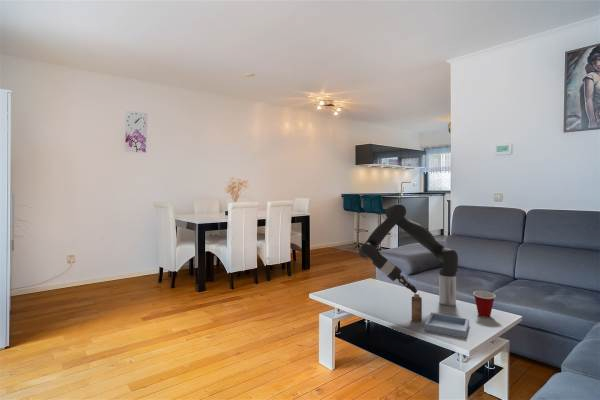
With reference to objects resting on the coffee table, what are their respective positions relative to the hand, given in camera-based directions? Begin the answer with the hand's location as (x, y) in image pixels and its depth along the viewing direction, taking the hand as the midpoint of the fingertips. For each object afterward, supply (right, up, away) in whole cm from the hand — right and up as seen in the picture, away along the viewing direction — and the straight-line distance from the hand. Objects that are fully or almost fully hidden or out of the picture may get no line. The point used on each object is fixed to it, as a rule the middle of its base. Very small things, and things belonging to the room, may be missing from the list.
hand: (415, 290), depth 177 cm
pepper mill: (0, -15, -2) cm, 15 cm away
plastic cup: (+39, -15, +5) cm, 42 cm away
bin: (+12, -15, -11) cm, 22 cm away
